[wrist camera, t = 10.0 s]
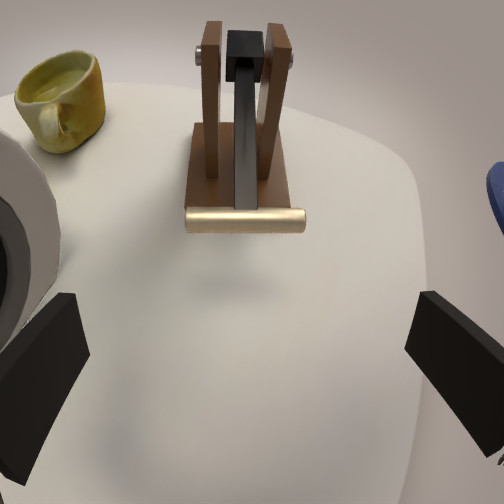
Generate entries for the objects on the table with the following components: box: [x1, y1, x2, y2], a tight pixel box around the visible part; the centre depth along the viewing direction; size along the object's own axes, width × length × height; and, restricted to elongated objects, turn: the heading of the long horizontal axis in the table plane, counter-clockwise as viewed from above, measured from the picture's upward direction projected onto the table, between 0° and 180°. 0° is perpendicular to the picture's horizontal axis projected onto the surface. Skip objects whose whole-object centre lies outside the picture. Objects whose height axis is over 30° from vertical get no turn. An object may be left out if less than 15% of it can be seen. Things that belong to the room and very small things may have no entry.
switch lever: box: [185, 30, 306, 233], centre depth 15 cm, size 13×6×2 cm, turn 3°
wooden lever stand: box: [184, 21, 293, 211], centre depth 20 cm, size 10×8×13 cm
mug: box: [14, 50, 105, 153], centre depth 24 cm, size 12×10×10 cm
